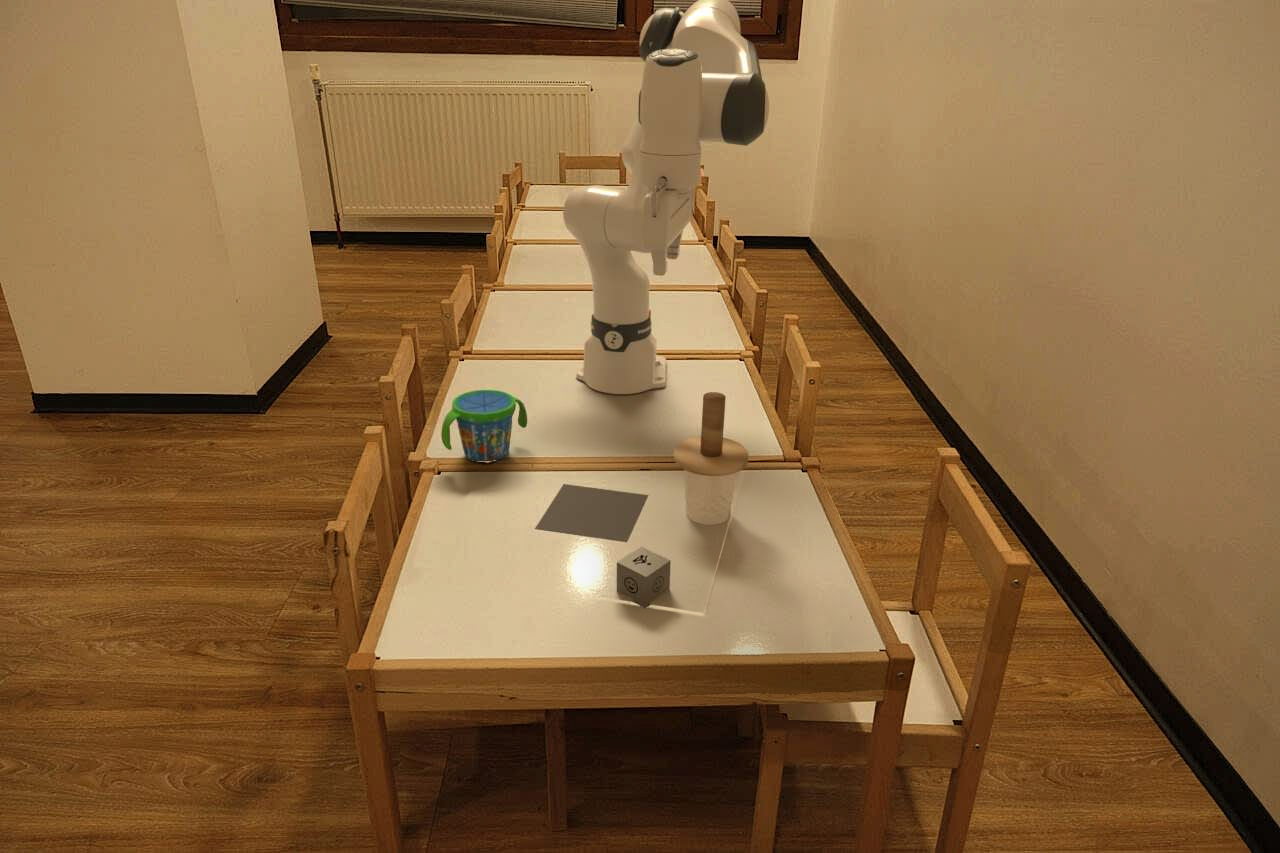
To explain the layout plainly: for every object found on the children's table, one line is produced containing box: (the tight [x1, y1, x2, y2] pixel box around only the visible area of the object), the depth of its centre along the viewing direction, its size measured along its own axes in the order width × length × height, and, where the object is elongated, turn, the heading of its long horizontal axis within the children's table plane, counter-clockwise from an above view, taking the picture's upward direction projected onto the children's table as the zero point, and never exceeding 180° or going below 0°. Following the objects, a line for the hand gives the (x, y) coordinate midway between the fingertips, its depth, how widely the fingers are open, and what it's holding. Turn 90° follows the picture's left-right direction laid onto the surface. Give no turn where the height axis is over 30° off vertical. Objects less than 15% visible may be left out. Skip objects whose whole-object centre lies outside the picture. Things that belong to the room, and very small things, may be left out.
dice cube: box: [616, 546, 672, 609], centre depth 118 cm, size 5×5×5 cm
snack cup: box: [440, 389, 528, 462], centre depth 152 cm, size 16×10×10 cm
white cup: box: [684, 470, 737, 526], centre depth 135 cm, size 8×8×10 cm
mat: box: [534, 483, 649, 543], centre depth 137 cm, size 14×14×1 cm
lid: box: [673, 391, 749, 476], centre depth 131 cm, size 11×11×10 cm
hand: (666, 266), depth 135 cm, fingers open, 8 cm apart
